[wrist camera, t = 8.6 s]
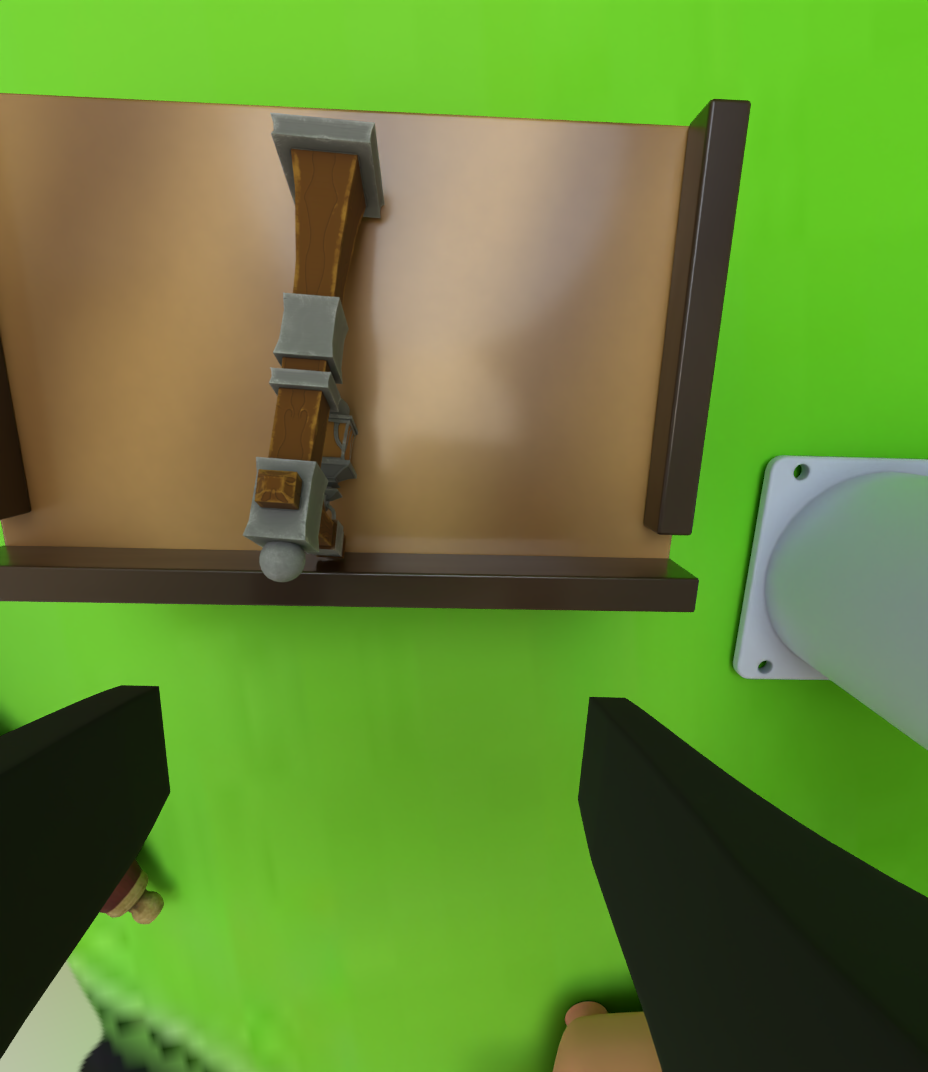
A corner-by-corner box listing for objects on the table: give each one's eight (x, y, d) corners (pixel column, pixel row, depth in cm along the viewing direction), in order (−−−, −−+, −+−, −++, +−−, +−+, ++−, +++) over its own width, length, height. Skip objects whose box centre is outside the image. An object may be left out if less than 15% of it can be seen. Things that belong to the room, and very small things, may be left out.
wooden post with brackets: (287, 593, 12) (198, 573, 7) (323, 276, 13) (265, 100, 9) (367, 598, 12) (326, 581, 8) (394, 282, 13) (373, 110, 9)
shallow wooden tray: (638, 213, 16) (773, 78, 9) (606, 538, 18) (695, 613, 12) (89, 190, 15) (-180, 30, 9) (133, 527, 18) (-52, 601, 11)
